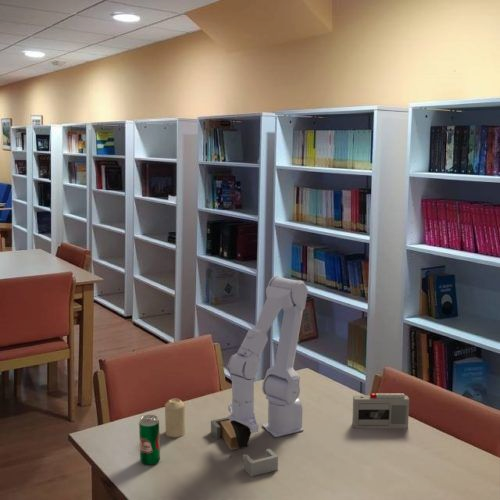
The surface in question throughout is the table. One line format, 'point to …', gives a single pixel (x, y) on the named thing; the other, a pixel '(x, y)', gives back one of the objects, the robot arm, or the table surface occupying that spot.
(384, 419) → the cassette player
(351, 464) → the table surface
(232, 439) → the brown wooden block
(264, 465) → the cap
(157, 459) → the soda can
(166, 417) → the candle
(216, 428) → the fixed cap
